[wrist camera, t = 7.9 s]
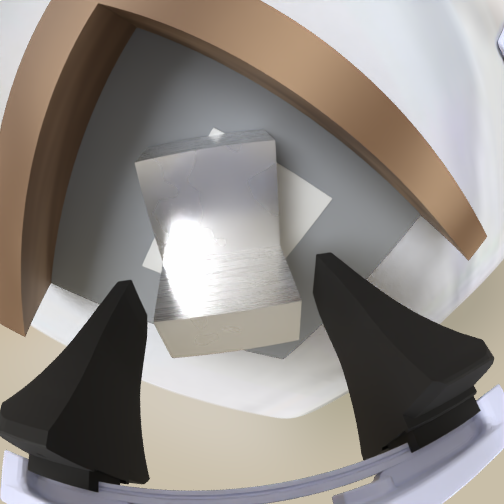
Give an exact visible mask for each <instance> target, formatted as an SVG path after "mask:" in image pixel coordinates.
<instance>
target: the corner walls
mask: <svg viewBox="0 0 504 504" xmlns="http://www.w3.org/2000/svg"><path fill="white" fill-rule="evenodd" d="M136 28H140V29H143V30H146V31H149V32H151V33H154V34H157V35H159V36H162V37H164V38H167V39H169V40H172V41H174V42H176V43H179V44H181V45H183V46H186V47H188V48H190V49H192V50H194V51H197V52H199V53H201V54H203V55H205V56H207V57H209V58H211V59H213V60H215V61H217V62H219V63H221V64H223V65H225V66H227V67H229V68H230V69H232V70H234V71H236V72H238V73H240V74H241V75H243V76H245V77H247V78H248V79H250V80H252V81H254V82H255V83H257V84H259V85H260V86H262V87H264V88H265V89H267V90H269V91H270V92H272V93H273V94H275V95H277V96H278V97H280V98H281V99H283V100H284V101H286V102H287V103H289V104H290V105H292V106H293V107H295V108H296V109H298V110H299V111H301V112H302V113H304V114H305V115H306V116H308V117H309V118H311V119H312V120H313V121H315V122H316V123H318V124H319V125H320V126H322V127H323V128H324V129H326V130H327V131H328V132H330V133H331V134H332V135H333V136H335V137H336V138H337V139H339V140H340V141H341V142H342V143H344V144H345V145H346V146H347V147H349V148H350V149H351V150H352V151H353V152H355V153H356V154H357V155H358V156H359V157H361V158H362V159H363V160H364V161H365V162H366V163H368V164H369V165H370V166H371V167H372V168H373V169H374V170H376V171H377V172H378V173H379V174H380V175H381V176H382V177H383V178H384V179H386V180H387V181H388V182H389V183H390V184H391V185H392V186H393V187H394V188H395V189H396V190H397V191H398V192H399V193H400V194H401V195H402V196H403V197H404V198H405V199H406V200H407V201H408V202H409V203H410V204H411V205H412V206H413V207H414V208H415V209H416V210H417V211H418V212H419V213H420V214H421V216H422V217H423V218H424V219H426V220H427V221H428V222H429V223H430V224H431V225H432V226H433V227H435V228H436V229H437V230H438V231H439V232H440V233H441V234H442V235H443V236H444V237H445V238H446V239H447V240H448V241H449V242H450V243H452V244H453V245H454V246H455V247H456V248H457V249H458V250H459V251H460V252H461V253H462V254H463V255H464V256H465V258H466V259H467V260H468V261H469V260H470V258H471V257H472V256H473V255H474V253H475V252H476V251H477V249H478V248H479V247H480V245H481V244H482V243H483V241H484V240H485V239H486V237H487V235H486V233H485V231H484V229H483V227H482V225H481V223H480V222H479V220H478V218H477V216H476V214H475V213H474V211H473V209H472V207H471V206H470V204H469V202H468V200H467V199H466V197H465V196H464V194H463V192H462V191H461V189H460V188H459V186H458V184H457V183H456V181H455V180H454V178H453V177H452V175H451V174H450V172H449V171H448V170H447V168H446V167H445V165H444V164H443V162H442V161H441V160H440V158H439V157H438V156H437V154H436V153H435V152H434V150H433V149H432V148H431V146H430V145H429V144H428V142H427V141H426V140H425V139H424V137H423V136H422V135H421V134H420V133H419V131H418V130H417V129H416V128H415V127H414V125H413V124H412V123H411V122H410V121H409V120H408V119H407V117H406V116H405V115H404V114H403V113H402V112H401V111H400V110H399V109H398V107H397V106H396V105H395V104H394V103H393V102H392V101H391V100H390V99H389V98H388V97H387V96H386V95H385V94H384V93H383V92H382V91H381V90H380V89H379V88H378V87H377V86H376V85H375V84H374V83H373V82H372V81H371V80H370V79H368V78H367V77H366V76H365V75H364V74H363V73H362V72H361V71H360V70H359V69H357V68H356V67H355V66H354V65H353V64H352V63H350V62H349V61H348V60H347V59H346V58H345V57H343V56H342V55H341V54H340V53H338V52H337V51H336V50H335V49H333V48H332V47H331V46H329V45H328V44H327V43H326V42H324V41H323V40H321V39H320V38H319V37H317V36H316V35H315V34H313V33H312V32H310V31H309V30H308V29H306V28H305V27H303V26H302V25H300V24H299V23H297V22H296V21H294V20H292V19H291V18H289V17H288V16H286V15H285V14H283V13H281V12H280V11H278V10H276V9H275V8H273V7H271V6H269V5H268V4H266V3H264V2H262V1H260V0H51V1H50V3H49V5H48V6H47V8H46V10H45V12H44V14H43V15H42V17H41V19H40V21H39V23H38V25H37V27H36V29H35V31H34V33H33V35H32V37H31V39H30V41H29V44H28V46H27V48H26V50H25V53H24V55H23V58H22V60H21V63H20V65H19V68H18V71H17V73H16V76H15V79H14V82H13V85H12V88H11V91H10V94H9V98H8V101H7V105H6V108H5V112H4V116H3V120H2V124H1V129H0V324H2V325H4V326H5V327H7V328H9V329H11V330H13V331H15V332H16V333H18V334H20V335H22V336H24V337H25V336H26V334H27V331H28V329H29V327H30V324H31V322H32V320H33V318H34V316H35V314H36V311H37V309H38V307H39V305H40V303H41V301H42V299H43V297H44V295H45V293H46V291H47V289H48V288H49V286H50V284H51V278H52V268H53V260H54V253H55V246H56V240H57V234H58V228H59V223H60V218H61V213H62V208H63V204H64V200H65V196H66V192H67V188H68V184H69V180H70V177H71V173H72V170H73V166H74V163H75V160H76V157H77V153H78V150H79V147H80V144H81V142H82V139H83V136H84V133H85V131H86V128H87V125H88V123H89V120H90V118H91V115H92V113H93V110H94V108H95V106H96V103H97V101H98V99H99V96H100V94H101V92H102V90H103V88H104V86H105V84H106V81H107V79H108V77H109V75H110V73H111V71H112V70H113V68H114V66H115V64H116V62H117V60H118V58H119V56H120V55H121V53H122V51H123V49H124V48H125V46H126V44H127V43H128V41H129V39H130V38H131V36H132V34H133V33H134V31H135V29H136Z"/></svg>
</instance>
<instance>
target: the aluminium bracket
mask: <svg viewBox="0 0 504 504" xmlns="http://www.w3.org/2000/svg"><path fill="white" fill-rule="evenodd" d="M135 167H136V171H137V175H138V179H139V183H140V187H141V190H142V194H143V198H144V202H145V205H146V209H147V212H148V216H149V219H150V223H151V226H152V229H153V233H154V236H155V239H156V242H157V245H158V249H159V252H160V255H161V258H162V261H163V265H162V271H161V277H160V282H159V288H158V294H157V301H156V307H155V314H154V321H153V323H154V325H155V327H156V329H157V331H158V332H159V334H160V336H161V338H162V340H163V342H164V344H165V346H166V348H167V350H168V351H169V353H170V355H171V357H172V358H179V357H190V356H199V355H208V354H216V353H224V352H231V351H238V350H245V349H251V348H258V347H264V346H269V345H275V344H281V343H286V342H291V341H296V340H299V334H300V319H301V303H302V300H301V298H300V295H299V293H298V290H297V287H296V285H295V282H294V280H293V277H292V274H291V272H290V269H289V267H288V264H287V262H286V259H285V256H284V254H283V251H282V249H281V246H280V231H279V206H278V184H277V164H276V146H275V140H274V139H273V138H272V137H271V136H270V135H269V134H268V133H267V132H266V131H265V130H264V129H263V130H252V131H243V132H235V133H227V134H220V135H213V136H206V137H200V138H194V139H188V140H183V141H177V142H172V143H167V144H162V145H157V146H153V147H148V148H147V149H146V150H145V151H144V152H143V153H142V154H141V155H140V157H139V158H138V159H137V160H136V161H135Z"/></svg>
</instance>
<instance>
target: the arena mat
mask: <svg viewBox="0 0 504 504" xmlns="http://www.w3.org/2000/svg"><path fill="white" fill-rule="evenodd" d="M263 129H264V130H265V131H266V132H267V133H268V134H269V135H270V136H271V137H272V138H273V139H274V140H275V146H276V164H277V184H278V206H279V231H280V246H281V249H282V251H283V254H284V256H285V259H286V262H287V264H288V267H289V269H290V272H291V274H292V277H293V280H294V282H295V285H296V287H297V290H298V293H299V295H300V298H301V300H302V303H301V319H300V334H299V340H296V341H291V342H286V343H281V344H275V345H269V346H264V347H258V348H251V349H245V351H249V352H253V353H258V354H262V355H267V356H271V357H276V358H280V359H284V358H286V357H287V356H288V355H289V354H290V353H291V352H292V351H293V350H295V349H296V348H297V347H298V346H299V345H300V344H301V343H302V342H303V341H304V340H306V339H307V338H308V337H309V336H310V335H311V334H312V333H313V332H314V331H315V330H316V329H317V328H318V327H319V326H320V325H322V324H323V322H322V320H321V317H320V315H319V312H318V309H317V306H316V303H315V299H314V296H313V283H314V273H315V262H316V254H322V253H328V252H331V253H333V254H334V255H335V256H337V257H338V258H339V259H340V260H342V261H343V262H344V263H345V264H347V265H348V266H349V267H350V268H352V269H353V270H354V271H355V272H357V273H358V274H359V275H360V276H362V277H363V278H364V279H367V278H368V276H369V275H370V274H371V273H372V272H373V271H374V270H375V269H376V268H377V267H378V265H379V264H380V263H381V262H382V261H383V260H384V259H385V257H386V256H387V255H388V254H389V253H390V252H391V251H392V249H393V248H394V247H395V246H396V245H397V243H398V242H399V241H400V240H401V239H402V237H403V236H404V235H405V234H406V233H407V231H408V230H409V229H410V228H411V226H412V225H413V224H414V223H415V221H416V220H417V219H418V218H419V216H420V215H421V214H420V213H419V212H418V211H417V210H416V209H415V208H414V207H413V206H412V205H411V204H410V203H409V202H408V201H407V200H406V199H405V198H404V197H403V196H402V195H401V194H400V193H399V192H398V191H397V190H396V189H395V188H394V187H393V186H392V185H391V184H390V183H389V182H388V181H387V180H386V179H384V178H383V177H382V176H381V175H380V174H379V173H378V172H377V171H376V170H374V169H373V168H372V167H371V166H370V165H369V164H368V163H366V162H365V161H364V160H363V159H362V158H361V157H359V156H358V155H357V154H356V153H355V152H353V151H352V150H351V149H350V148H349V147H347V146H346V145H345V144H344V143H342V142H341V141H340V140H339V139H337V138H336V137H335V136H333V135H332V134H331V133H330V132H328V131H327V130H326V129H324V128H323V127H322V126H320V125H319V124H318V123H316V122H315V121H313V120H312V119H311V118H309V117H308V116H306V115H305V114H304V113H302V112H301V111H299V110H298V109H296V108H295V107H293V106H292V105H290V104H289V103H287V102H286V101H284V100H283V99H281V98H280V97H278V96H277V95H275V94H273V93H272V92H270V91H269V90H267V89H265V88H264V87H262V86H260V85H259V84H257V83H255V82H254V81H252V80H250V79H248V78H247V77H245V76H243V75H241V74H240V73H238V72H236V71H234V70H232V69H230V68H229V67H227V66H225V65H223V64H221V63H219V62H217V61H215V60H213V59H211V58H209V57H207V56H205V55H203V54H201V53H199V52H197V51H194V50H192V49H190V48H188V47H186V46H183V45H181V44H179V43H176V42H174V41H172V40H169V39H167V38H164V37H162V36H159V35H157V34H154V33H151V32H149V31H146V30H143V29H140V28H136V29H135V31H134V33H133V34H132V36H131V38H130V39H129V41H128V43H127V44H126V46H125V48H124V49H123V51H122V53H121V55H120V56H119V58H118V60H117V62H116V64H115V66H114V68H113V70H112V71H111V73H110V75H109V77H108V79H107V81H106V84H105V86H104V88H103V90H102V92H101V94H100V96H99V99H98V101H97V103H96V106H95V108H94V110H93V113H92V115H91V118H90V120H89V123H88V125H87V128H86V131H85V133H84V136H83V139H82V142H81V144H80V147H79V150H78V153H77V157H76V160H75V163H74V166H73V170H72V173H71V177H70V180H69V184H68V188H67V192H66V196H65V200H64V204H63V208H62V213H61V218H60V223H59V228H58V234H57V240H56V246H55V253H54V260H53V268H52V278H51V283H53V284H55V285H57V286H59V287H61V288H63V289H66V290H68V291H70V292H72V293H75V294H77V295H79V296H82V297H84V298H86V299H89V300H91V301H94V302H96V303H99V304H101V303H102V301H103V300H104V299H105V297H106V296H107V295H108V293H109V292H110V291H111V289H112V288H113V287H114V286H115V284H116V283H117V282H118V281H125V280H132V282H133V284H134V286H135V289H136V291H137V293H138V296H139V298H140V300H141V302H142V304H143V307H144V309H145V311H146V313H147V315H148V316H147V322H149V323H152V324H154V323H153V321H154V314H155V307H156V301H157V294H158V288H159V282H160V277H161V271H162V265H163V261H162V258H161V255H160V252H159V249H158V245H157V242H156V239H155V236H154V233H153V229H152V226H151V223H150V219H149V216H148V212H147V209H146V205H145V202H144V198H143V194H142V190H141V187H140V183H139V179H138V175H137V171H136V167H135V161H136V160H137V159H138V158H139V157H140V155H141V154H142V153H143V152H144V151H145V150H146V149H147V148H148V147H153V146H157V145H162V144H167V143H172V142H177V141H183V140H188V139H194V138H200V137H206V136H213V135H220V134H227V133H235V132H243V131H252V130H263Z"/></svg>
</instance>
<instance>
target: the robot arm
mask: <svg viewBox="0 0 504 504" xmlns="http://www.w3.org/2000/svg"><path fill="white" fill-rule="evenodd" d="M498 45H499V48H500V50H501V52H502V54H503V56H504V29H503V31H502V33H501V35H500V38H499V40H498ZM313 296H314V299H315V303H316V306H317V309H318V312H319V315H320V317H321V320H322V322H323V324H324V326H325V329H326V331H327V333H328V335H329V338H330V340H331V342H332V344H333V347H334V349H335V351H336V353H337V356H338V358H339V361H340V363H341V366H342V369H343V372H344V375H345V379H346V382H347V386H348V389H349V393H350V397H351V401H352V405H353V409H354V414H355V418H356V422H357V428H358V434H359V440H360V446H361V454H362V457H363V460H364V461H361V462H359V463H356V464H353V465H350V466H346V467H343V468H340V469H337V470H333V471H330V472H326V473H323V474H319V475H315V476H311V477H307V478H302V479H298V480H293V481H288V482H282V483H277V484H271V485H264V486H257V487H248V488H239V489H227V490H207V491H178V490H177V491H176V490H158V489H146V488H137V487H128V486H121V485H120V483H123V484H129V483H137V484H145V483H146V482H148V480H149V479H150V478H149V475H148V470H147V465H146V460H145V454H144V447H143V439H142V430H141V417H140V385H141V377H142V369H143V362H144V355H145V348H146V341H147V316H148V315H147V313H146V311H145V309H144V307H143V304H142V302H141V300H140V298H139V296H138V293H137V291H136V289H135V286H134V284H133V282H132V280H125V281H118V282H117V283H116V284H115V286H114V287H113V288H112V289H111V291H110V292H109V293H108V295H107V296H106V297H105V299H104V300H103V301H102V303H101V304H100V305H99V307H98V308H97V309H96V311H95V312H94V313H93V315H92V316H91V317H90V319H89V320H88V321H87V322H86V324H85V325H84V326H83V327H82V329H81V330H80V331H79V333H78V334H77V335H76V336H75V338H74V339H73V340H72V341H71V342H70V344H69V345H68V346H67V347H66V348H65V349H64V350H63V351H62V353H61V354H60V355H59V356H58V357H57V358H56V359H55V360H54V361H53V362H52V363H51V364H50V365H49V366H48V367H47V368H46V369H45V370H44V371H43V372H42V373H41V374H39V375H38V376H37V377H36V378H35V379H34V380H33V381H31V382H30V383H29V384H28V385H27V386H25V387H24V388H23V389H22V390H20V391H19V392H17V393H16V394H15V395H13V396H12V397H10V398H9V399H7V400H6V401H4V402H3V403H2V405H1V409H0V436H1V437H2V438H3V439H5V440H7V441H8V442H10V443H12V444H13V445H15V446H16V447H18V448H20V449H21V450H23V451H25V452H27V453H29V459H27V458H24V457H22V456H20V455H17V454H15V453H13V452H10V451H8V450H5V452H4V459H3V468H2V478H1V479H2V480H1V500H2V501H4V502H5V503H7V504H266V503H272V502H279V501H284V500H289V499H295V498H299V497H304V496H308V495H312V494H316V493H320V492H324V491H327V490H331V489H335V488H338V487H341V486H345V485H348V484H351V483H354V482H357V481H359V480H362V479H365V478H367V477H370V476H372V475H375V474H377V475H376V476H375V477H374V480H373V482H372V483H370V484H367V485H364V486H361V487H358V488H355V489H353V490H349V491H347V492H343V493H340V494H337V495H334V496H333V497H332V500H333V504H442V503H444V502H445V501H446V500H448V499H449V498H450V497H451V496H453V495H454V494H455V493H456V492H458V491H459V490H460V489H461V488H462V487H464V486H465V485H466V484H467V483H468V482H469V481H470V480H472V479H473V478H474V477H475V476H476V475H477V474H478V473H479V472H480V471H481V470H482V469H483V468H484V467H485V466H486V465H487V464H488V463H490V462H491V461H492V460H493V459H494V458H495V457H496V456H497V455H498V454H499V453H500V452H501V451H502V449H504V392H503V390H502V388H501V386H500V385H499V384H498V385H496V386H495V387H494V388H492V389H491V390H490V391H488V392H487V393H486V394H484V395H483V396H482V397H480V398H479V399H478V400H475V398H474V395H475V394H476V392H477V391H476V389H475V387H474V384H475V383H476V382H477V381H478V380H479V379H480V378H481V377H482V376H483V375H484V374H485V373H486V372H487V370H488V369H489V368H490V367H491V365H492V364H493V361H494V357H493V355H492V353H491V352H490V350H489V349H488V347H487V346H486V344H485V342H484V341H483V340H482V339H478V338H475V337H472V336H469V335H465V334H462V333H459V332H456V331H454V330H451V329H449V328H446V327H444V326H442V325H440V324H437V323H435V322H433V321H431V320H429V319H427V318H425V317H423V316H421V315H419V314H417V313H415V312H413V311H412V310H410V309H408V308H407V307H405V306H403V305H402V304H400V303H398V302H397V301H395V300H394V299H392V298H390V297H389V296H388V295H386V294H385V293H383V292H382V291H380V290H379V289H378V288H376V287H375V286H373V285H372V284H371V283H369V282H368V281H367V280H366V279H364V278H363V277H362V276H360V275H359V274H358V273H357V272H355V271H354V270H353V269H352V268H350V267H349V266H348V265H347V264H345V263H344V262H343V261H342V260H340V259H339V258H338V257H337V256H335V255H334V254H333V253H331V252H328V253H322V254H316V262H315V273H314V283H313Z"/></svg>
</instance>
